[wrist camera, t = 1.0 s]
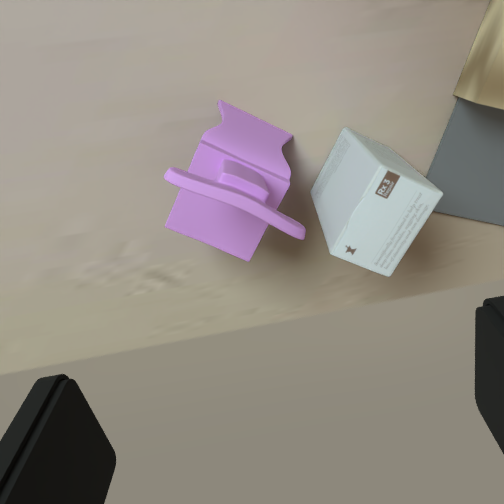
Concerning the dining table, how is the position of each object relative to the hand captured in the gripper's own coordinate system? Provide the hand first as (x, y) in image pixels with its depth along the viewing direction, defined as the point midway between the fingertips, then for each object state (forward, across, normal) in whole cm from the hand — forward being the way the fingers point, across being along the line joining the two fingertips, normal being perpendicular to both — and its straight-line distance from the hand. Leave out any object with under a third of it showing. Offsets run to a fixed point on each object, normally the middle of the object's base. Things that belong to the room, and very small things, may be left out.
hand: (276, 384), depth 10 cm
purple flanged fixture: (+28, +3, +3) cm, 28 cm away
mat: (+27, -18, +8) cm, 33 cm away
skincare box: (+28, -6, +5) cm, 29 cm away
